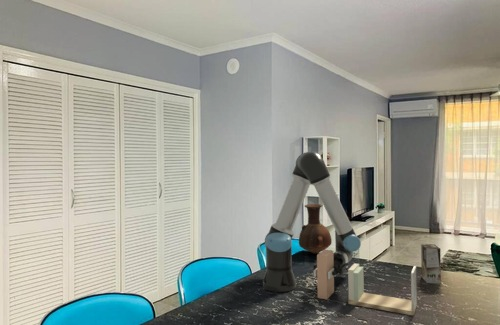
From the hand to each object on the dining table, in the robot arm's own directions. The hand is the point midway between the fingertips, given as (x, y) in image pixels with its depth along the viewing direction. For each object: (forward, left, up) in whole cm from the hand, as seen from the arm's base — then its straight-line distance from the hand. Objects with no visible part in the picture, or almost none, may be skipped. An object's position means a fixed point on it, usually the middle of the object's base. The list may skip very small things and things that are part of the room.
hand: (321, 274), depth 151 cm
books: (+13, +5, -8) cm, 16 cm away
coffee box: (+38, +45, -10) cm, 60 cm away
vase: (-27, +67, -10) cm, 73 cm away
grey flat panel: (+35, +5, -8) cm, 36 cm away
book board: (+23, +5, -10) cm, 26 cm away
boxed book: (0, +5, -10) cm, 11 cm away
